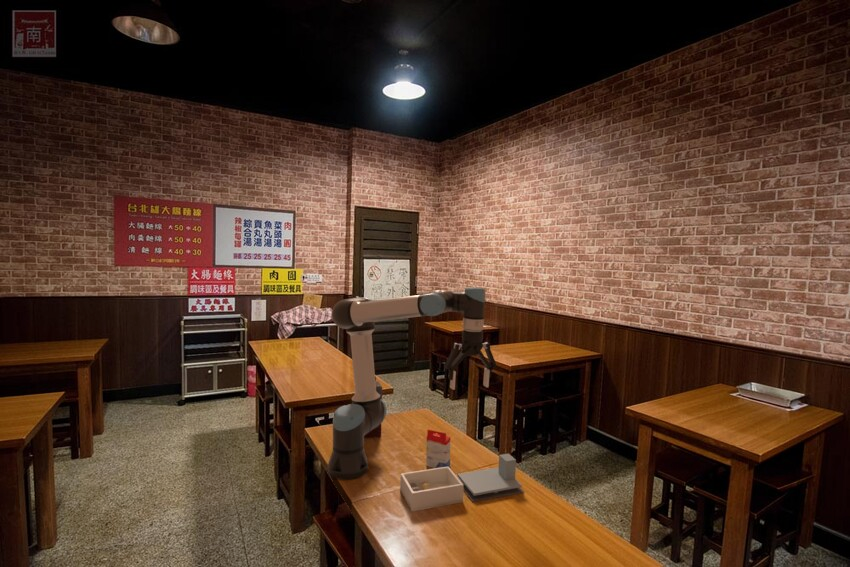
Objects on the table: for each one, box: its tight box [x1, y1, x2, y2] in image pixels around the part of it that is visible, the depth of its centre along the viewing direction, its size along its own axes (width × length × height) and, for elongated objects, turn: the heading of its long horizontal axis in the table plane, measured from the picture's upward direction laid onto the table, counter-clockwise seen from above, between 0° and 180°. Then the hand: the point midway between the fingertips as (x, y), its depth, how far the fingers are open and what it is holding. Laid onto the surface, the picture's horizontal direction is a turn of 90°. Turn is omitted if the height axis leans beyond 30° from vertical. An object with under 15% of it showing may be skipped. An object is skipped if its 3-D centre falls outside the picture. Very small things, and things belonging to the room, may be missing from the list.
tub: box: [399, 466, 464, 512], centre depth 142 cm, size 18×13×6 cm
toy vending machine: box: [364, 376, 383, 440], centre depth 192 cm, size 9×11×28 cm
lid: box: [456, 453, 523, 496], centre depth 149 cm, size 19×14×9 cm
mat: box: [458, 477, 525, 503], centre depth 150 cm, size 20×15×1 cm
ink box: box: [425, 429, 451, 469], centre depth 163 cm, size 8×5×15 cm, turn 65°
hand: (469, 387), depth 153 cm, fingers open, 13 cm apart
